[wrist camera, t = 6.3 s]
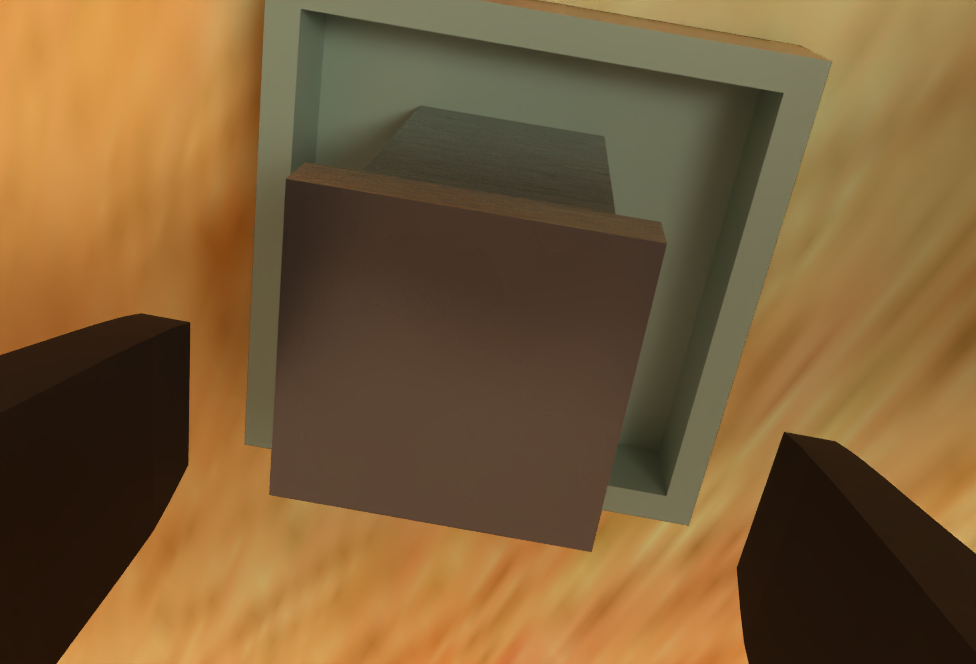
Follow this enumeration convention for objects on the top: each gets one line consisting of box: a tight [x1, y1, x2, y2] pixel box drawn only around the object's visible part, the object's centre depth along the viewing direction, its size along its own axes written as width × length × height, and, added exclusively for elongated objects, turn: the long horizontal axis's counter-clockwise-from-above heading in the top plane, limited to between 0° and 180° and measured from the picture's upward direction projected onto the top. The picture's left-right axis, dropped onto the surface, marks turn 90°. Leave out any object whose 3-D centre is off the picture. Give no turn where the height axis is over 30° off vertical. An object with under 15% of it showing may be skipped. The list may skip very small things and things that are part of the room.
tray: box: [245, 0, 832, 526], centre depth 17 cm, size 9×9×2 cm
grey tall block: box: [269, 106, 667, 552], centre depth 14 cm, size 4×4×7 cm
